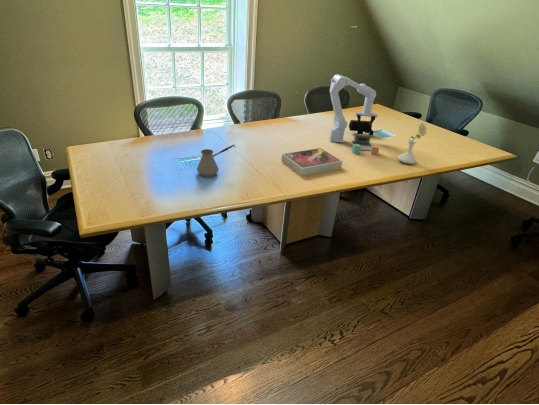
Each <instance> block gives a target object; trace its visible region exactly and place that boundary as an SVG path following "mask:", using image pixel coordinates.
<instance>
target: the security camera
mask: <svg viewBox="0 0 539 405" xmlns="http://www.w3.org/2000/svg"><path fill="white" fill-rule="evenodd" d="M369 125H370V120H360V125H359V126H358V119H350V121H349V124H348V129H349V131H352V132H355V134H369V135H370V136H371V137H372V136H374V131H373V129H372V128H373V124H372V125H371V127H369Z"/></svg>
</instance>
